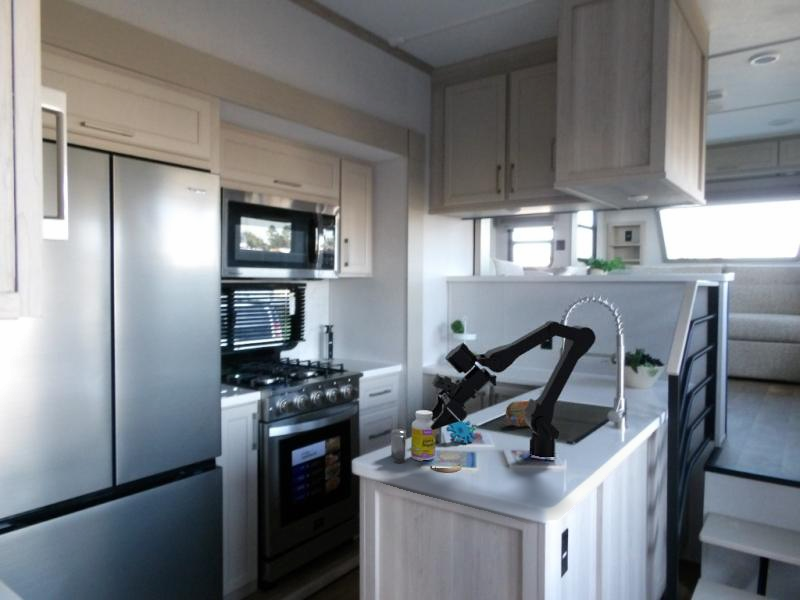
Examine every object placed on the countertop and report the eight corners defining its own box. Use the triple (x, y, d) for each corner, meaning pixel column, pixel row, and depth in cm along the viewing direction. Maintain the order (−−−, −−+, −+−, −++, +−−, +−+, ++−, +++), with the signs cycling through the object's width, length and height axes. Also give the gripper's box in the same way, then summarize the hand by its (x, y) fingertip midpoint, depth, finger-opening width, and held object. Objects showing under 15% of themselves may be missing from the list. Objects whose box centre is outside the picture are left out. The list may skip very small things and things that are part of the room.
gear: (453, 441, 169) (443, 412, 175) (444, 451, 173) (434, 423, 179) (483, 442, 174) (472, 414, 181) (473, 452, 178) (463, 424, 184)
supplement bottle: (421, 463, 154) (421, 416, 154) (406, 457, 159) (406, 411, 159) (440, 459, 158) (440, 412, 157) (425, 452, 163) (425, 408, 163)
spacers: (442, 441, 175) (442, 418, 175) (416, 465, 152) (417, 439, 152) (413, 437, 178) (413, 415, 178) (383, 461, 155) (383, 435, 155)
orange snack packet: (509, 427, 192) (509, 402, 191) (503, 425, 195) (504, 401, 194) (545, 423, 198) (546, 399, 197) (540, 421, 201) (540, 397, 200)
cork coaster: (464, 464, 154) (464, 463, 154) (456, 474, 146) (456, 472, 146) (435, 460, 156) (435, 459, 156) (426, 470, 149) (426, 468, 149)
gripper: (445, 359, 167) (407, 396, 167) (455, 370, 149) (412, 411, 149) (471, 386, 168) (433, 423, 168) (484, 400, 150) (441, 441, 149)
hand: (429, 424), depth 158 cm, fingers open, 9 cm apart
